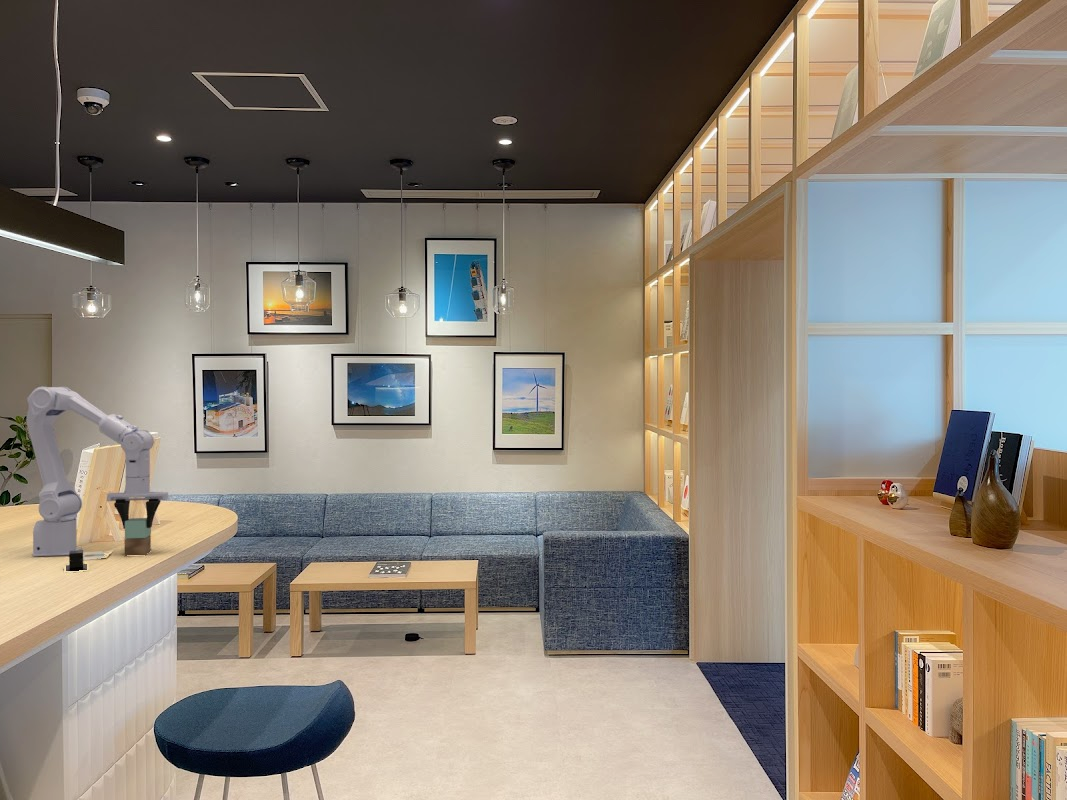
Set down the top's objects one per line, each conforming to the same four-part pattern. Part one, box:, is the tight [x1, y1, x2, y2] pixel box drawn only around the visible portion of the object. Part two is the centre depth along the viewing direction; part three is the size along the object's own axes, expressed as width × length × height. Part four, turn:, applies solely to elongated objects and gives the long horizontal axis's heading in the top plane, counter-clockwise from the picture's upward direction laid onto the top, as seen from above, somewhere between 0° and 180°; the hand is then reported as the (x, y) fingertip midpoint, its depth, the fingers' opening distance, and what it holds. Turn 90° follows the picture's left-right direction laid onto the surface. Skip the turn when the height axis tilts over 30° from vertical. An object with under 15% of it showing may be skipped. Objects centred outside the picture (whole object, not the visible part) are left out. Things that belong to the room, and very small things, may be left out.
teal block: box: [124, 517, 152, 540], centre depth 207 cm, size 5×5×4 cm
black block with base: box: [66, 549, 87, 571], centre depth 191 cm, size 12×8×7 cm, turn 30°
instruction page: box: [83, 550, 109, 561], centre depth 204 cm, size 7×10×1 cm
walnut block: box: [124, 534, 152, 557], centre depth 207 cm, size 5×5×4 cm
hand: (137, 527), depth 207 cm, fingers open, 5 cm apart
